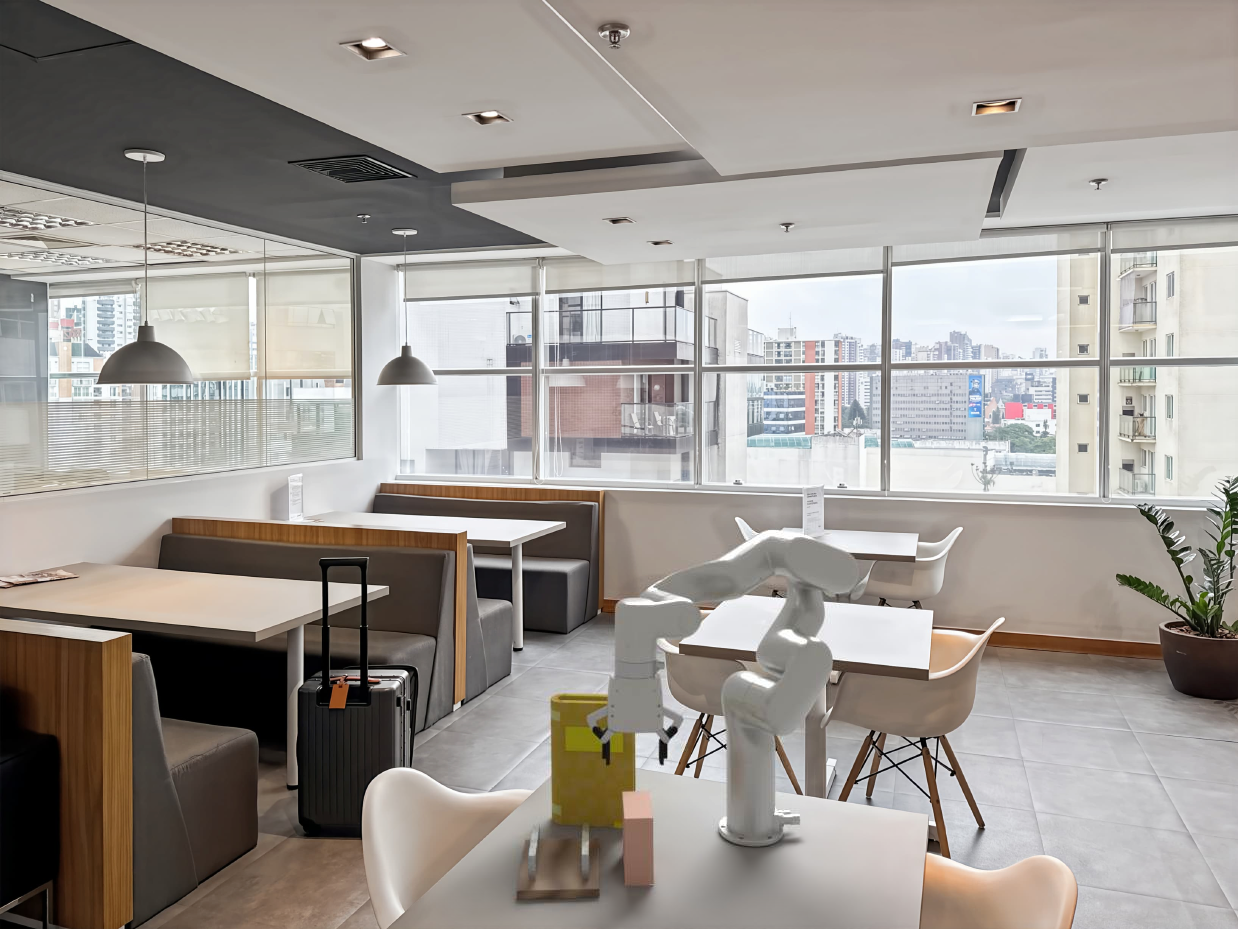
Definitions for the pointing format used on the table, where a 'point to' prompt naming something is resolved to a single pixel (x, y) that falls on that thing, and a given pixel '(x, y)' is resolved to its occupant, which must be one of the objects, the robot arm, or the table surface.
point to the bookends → (535, 850)
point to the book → (587, 764)
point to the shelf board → (560, 870)
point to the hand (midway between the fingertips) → (634, 762)
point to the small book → (637, 838)
